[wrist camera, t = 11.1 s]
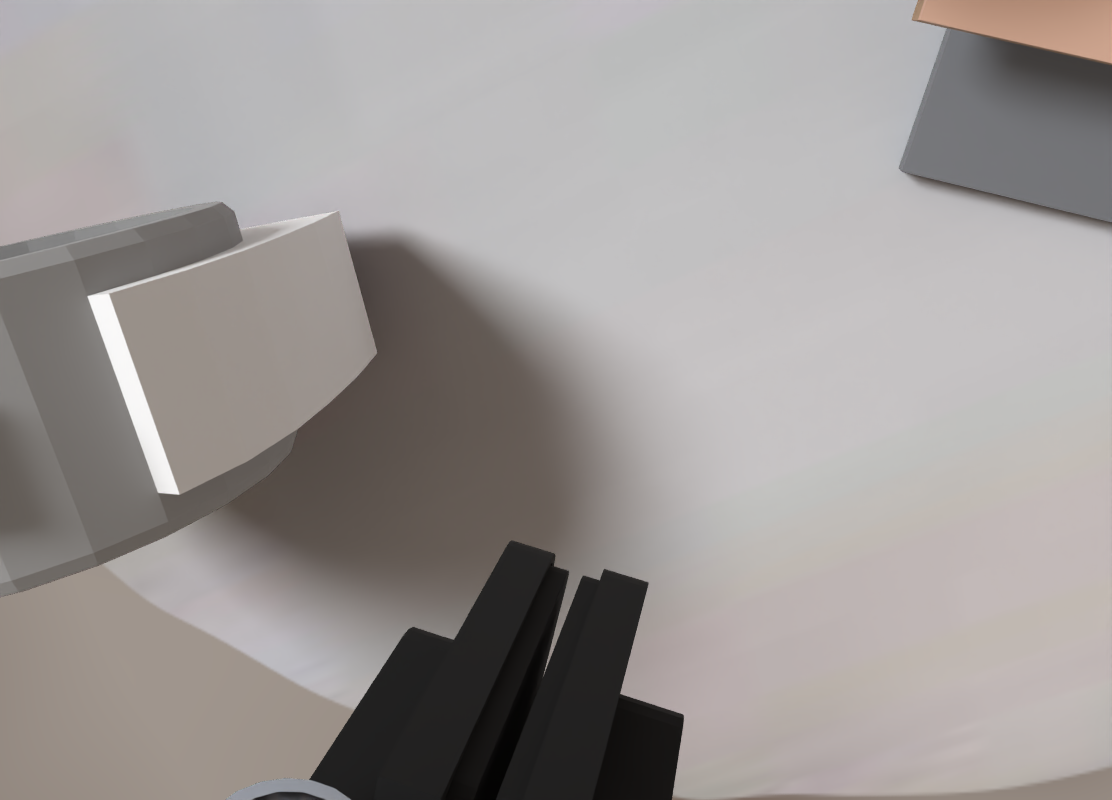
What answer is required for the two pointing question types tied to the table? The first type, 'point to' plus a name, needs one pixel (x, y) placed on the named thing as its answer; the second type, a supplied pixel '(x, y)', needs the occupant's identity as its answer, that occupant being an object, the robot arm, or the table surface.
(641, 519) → the table surface
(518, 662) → the robot arm
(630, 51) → the table surface
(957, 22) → the flap
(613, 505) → the table surface
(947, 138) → the grey ridged base plate
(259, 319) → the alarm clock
